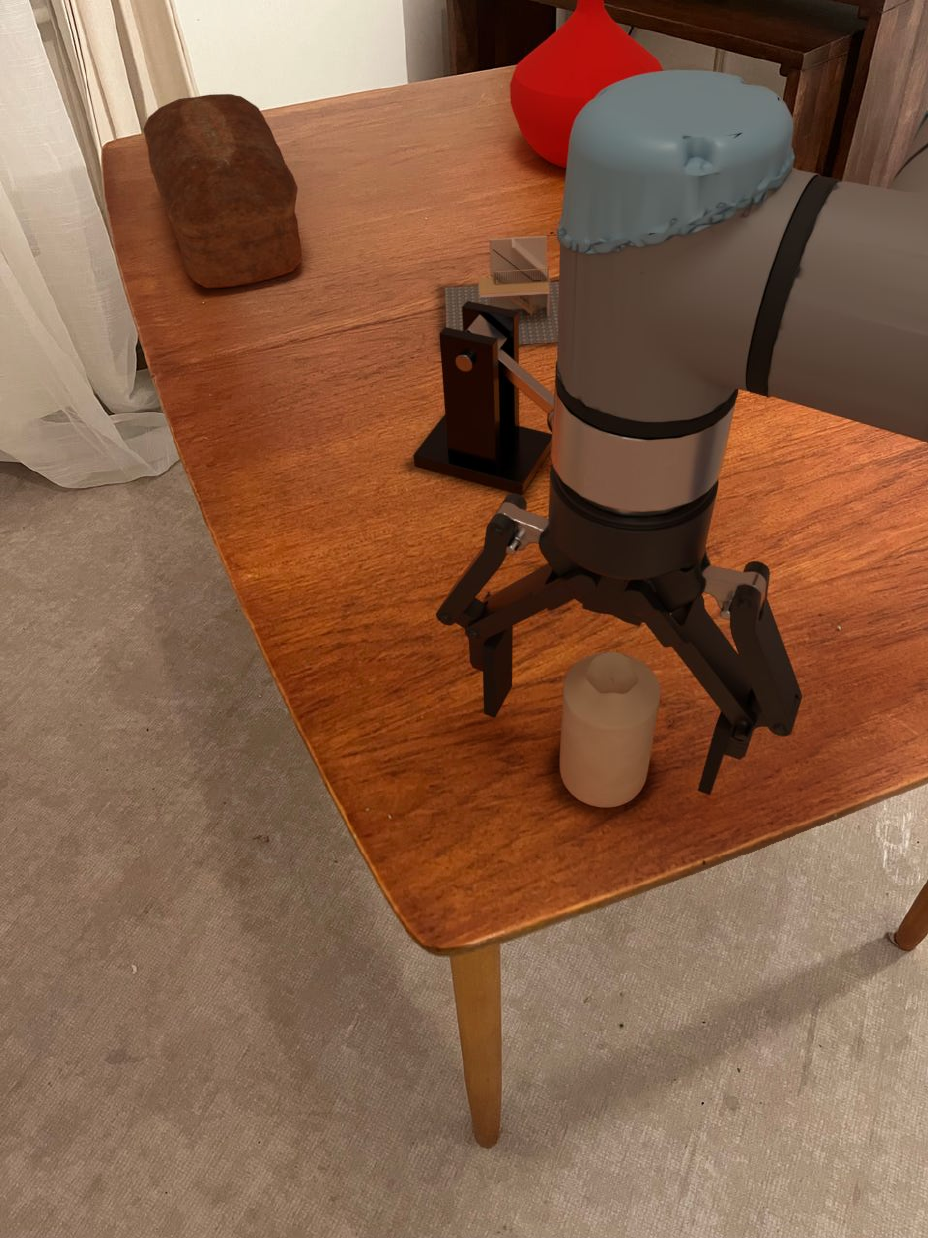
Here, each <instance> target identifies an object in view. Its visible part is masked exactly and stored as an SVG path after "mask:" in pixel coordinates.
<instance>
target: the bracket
mask: <svg viewBox="0 0 928 1238" xmlns="http://www.w3.org/2000/svg"><path fill="white" fill-rule="evenodd" d="M479 315H481V316H482V317H484V318H485V319H486V320H487V321H488V322H489V323H490V324H491V325H493V326H494V327H495V328H496V329H497V330H498V331H499V332H501V333H502V334H503V335H504V336H505V337H506V338H507V340H506V341H505V342H504V344H503V345H502V346H501V347H500V348H501V349H502V350H503V351H504V352H505V353H506V354H508V355H509V356H510V357H511V358H512V359H513V360H514V361H516V362H517V363H518V364H519V365H520V344H519V312H518V311H514V310H510V309H505V308H500V307H495V306H490V305H485V304H480V303H475V302H471V301H467V302H466V303H465V304H464V305H463V306H462V317H463V331H461V330H456V329H452V328H447V327H446V326H444V327H443V328H442V329H441V330H440V332H439V333H438V337H439V349H440V350H439V351H440V363H441V376H442V377H441V378H442V390H443V392H442V393H443V404H444V414H443V416H442V417H441V418H440V420H439V421H438V422H437V423H436V424H435V426H434V427H433V429H432V430H431V431H430V433H429V434H428V435H427V436H426V438H425V439H424V440H423V442H422V443H421V444H420V445H419V447H418V448H417V449H416V451H415V452H413V454H412V455H413V456H412V457H413V465H414V467H418V468H422V469H426V470H429V471H433V472H437V473H440V474H445V475H448V476H453V477H455V478H458V479H463V480H467V481H470V482H473V483H478V484H480V485H484V486H488V487H493V488H496V489H500V490H503V491H507V492H511V493H516V494H519V495H523V494H524V493H525V491H526V490H527V488H528V487H529V485H531V482H532V481H533V479H534V477H535V476H536V474H537V472H538V471H539V469H540V468H541V466H542V465H543V463H544V462H545V460H546V458H547V457H548V455H549V453H551V442H552V433H551V432H547V431H541V430H537V429H533V428H530V427H525V426H523V425H522V426H521V425H520V390H519V389H518V388H517V387H516V386H515V385H514V384H512V383H511V382H510V381H509V380H508V379H507V378H506V377H504V376H503V375H502V374H501V373H500V372H499V371H498V339H497V338H493V337H489V336H484V335H480V334H475V333H470V332H466V330H467V329H468V328H469V327H470V325H471V324H472V323H473V322H474V320H475V319H476V318H477V317H478V316H479Z"/></svg>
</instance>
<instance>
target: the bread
mask: <svg viewBox="0 0 928 1238" xmlns="http://www.w3.org/2000/svg"><path fill="white" fill-rule="evenodd" d="M142 131H143V133H144V138H145V144H146V146H147V152H148V161H149V167H150V169H151V170H150V171H151V174H152V175H153V178H154V181H155V185H156V188H157V191H158V193H159V195H160V198H161V200H162V208H163V211H164V214H165V215H166V217H167V218H168V220H169V221H170V224H171V227H172V230H173V234H174V236H175V238H176V241H177V243H178V246H179V250H180V254H181V257H182V261H183V265H184V268H185V270H186V272H187V275H188V276H189V277H190V278H191V280H192V281H193V282H195V283H197V284H199V285H200V286H202V287H203V288H205V289H221V288H222V289H223V288H231V287H239V286H245V285H250V284H256V283H260V282H263V281H267V280H270V279H271V280H272V279H274V278H277V277H281V276H284V275H286V274H289V273H291V272H293V271H294V270H295V269H296V268H297V266H299V264H300V263H301V262H302V261H303V256H302V255H303V254H302V245H301V239H300V234H299V226H298V225H299V224H298V218H297V215H296V211H295V210H296V203H297V197H298V196H297V195H298V185H297V182H296V180H295V177H294V175H293V173H292V172H291V170H290V168H289V167H288V165H287V163H286V161H285V159H284V158H285V157H284V156H283V152H282V150H281V148H280V147H279V145H278V143H277V142H276V141H277V140H276V139H275V137H274V134H273V131H272V129H271V127H270V126H269V124H268V123H267V120H266V118H265V116H264V114H263V113H262V112H261V110H260V108H259V107H258V106H257V105H256V104H254V103H252V102H251V101H249V100H247V98H245V97H243V96H241V95H236V94H232V93H219V94H216V93H214V94H205V95H199V96H193V97H192V96H191V97H184V98H183V97H182V98H177V99H176V100H173V101H171V102H169V103H167V104H164V105H163V106H162V105H161V106H160V107H159V108H157V109H156V110H155V111H154V112H153V113H152V114H150V115H149V116H148V117H147V120H146V122H145V124H144V126H143V128H142Z"/></svg>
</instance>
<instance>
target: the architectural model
mask: <svg viewBox="0 0 928 1238" xmlns="http://www.w3.org/2000/svg"><path fill="white" fill-rule="evenodd" d="M547 255H548V236H547V235H536V236H521V237H503V238H501V237H500V238H490V239H489V261H490V262H489V263H490V276H483V277H482V276H481V277H480V276H479V277H478V278H477V282H478V285H475V286H455V287H445V288H444V296H445V297H444V299H445V300H444V301H445V302H444V303H445V327H447V328H452V329H456V330H461V331H463V317H462V306H463V305H464V304H465V303H466V302H467V301H471V302H475V303H480V304H485V305H490V306H495V307H500V308H505V309H510V310H514V311H518V312H519V345H531V344H548V343H558V303H559V281H551V275H550V267H548V266H547V265H548V263H547V259H548V256H547Z"/></svg>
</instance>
